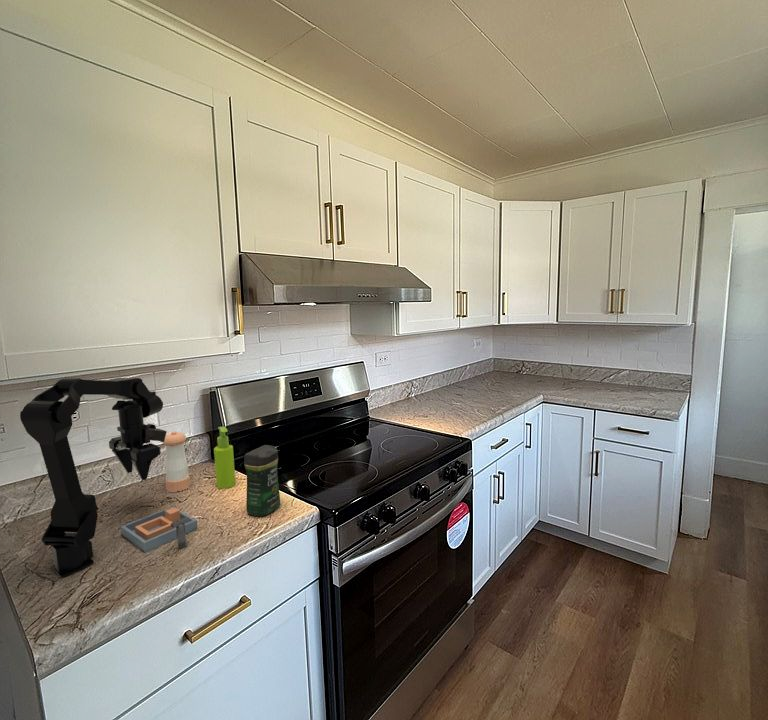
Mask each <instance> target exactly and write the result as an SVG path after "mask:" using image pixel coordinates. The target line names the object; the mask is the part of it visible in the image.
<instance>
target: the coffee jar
mask: <svg viewBox="0 0 768 720" xmlns="http://www.w3.org/2000/svg"><path fill="white" fill-rule="evenodd" d="M278 453H279V452H278V449H277V447H276V446H274V445H268V444H264V445H261V446H260V447H258V448H255V449H252V450H251V451H249V452H247V453H245V454H244V460H243V462H244V468H245V473H246V504H245V505H246V506H245V507H246V512H247V514H250V516H254V517H261V516H263V517H264V516H267V515H269V514H271V513H272V512H274V511H276V510H277V509H278V508H279V507H280V505H281V494H280V487H279V486H280V485H279V479H278V478H279V477H278V463H279V454H278Z"/></svg>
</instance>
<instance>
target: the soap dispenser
mask: <svg viewBox="0 0 768 720" xmlns="http://www.w3.org/2000/svg"><path fill="white" fill-rule="evenodd" d="M218 430H219V436H218V437H216V438H217V439H216V440H217V445H216V446H215V447H214V448H213V454H214V466H215V467H214V470H215V482H216V488H217V487H218V488H217V489H219V488H221V489H220V490H224V489H223V488H228V489H230V487H231V488H233V487H235V486H234V485H236V472H235V458H234V457H235V455H234V446H233V445H232V444H229V443H230V442H229V436H228V435H226V433H228V432H229V431H228V428H227V427H226V426H218Z"/></svg>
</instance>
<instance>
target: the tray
mask: <svg viewBox="0 0 768 720" xmlns="http://www.w3.org/2000/svg"><path fill="white" fill-rule="evenodd" d="M171 508H175V507H174V506H170V507H168V508H165V509H162V510H160V511H156V512H155V513H152V514H150V515H147V516H144V517H142V518H139V519H137V520H134V521H132V522H129V523H126V524H123V525H121V526H120V529H121V530H120V532H121V536H122V537H123V538H124V539H126V540H127V541H129V542H130V543H131V544H133V545H134V546H135V547H136V548H138V549H140V550H141V551H142V552H144V553H148V552H150V551H152V550H154V549H156V548H158V547H161V546H163V545H165V544H167V543H170V542H172V541H174V540H177V533H176V527H175V528H174V529H172V530H170V531H168V532H165V533H163V534H161V535H158V536H156V537H154V538H151V539H149V540H147V541H145V540H144V539H143V538H141V537H140V536H138V535H137V534H135V527H136V526H138V525H140V524H143V523H145V522H148V521H150V520H153V519H155V518H158V517H160V516H163V517H165V511H166V510H169V509H171ZM185 517H188V518H189V521H188V522H186V523H185V532H186V535H187V534H189V533H192V532H194V531H197V530H198V529H199V528H198V520H197V519H196V518H194V517H192V516H190V515H188V514H186V513H184V512H183V511H181V510H180V519H182V518H185ZM161 527H162V526H161V525H160V526H158V527H156V528H153V529H151V530H148V532H151V531H153V530H156V529H158V528H161Z"/></svg>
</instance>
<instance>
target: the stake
mask: <svg viewBox="0 0 768 720" xmlns="http://www.w3.org/2000/svg"><path fill="white" fill-rule="evenodd" d="M188 521H189V518H188V517H185V518H182V519H180V520H178V521H175V522H173V523H171V527H173V528H174V527H176V533H177V538H176V542H177V543H176V544H177V549H185V548H186V547H187V534H186V532H185V523H186V522H188Z"/></svg>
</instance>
